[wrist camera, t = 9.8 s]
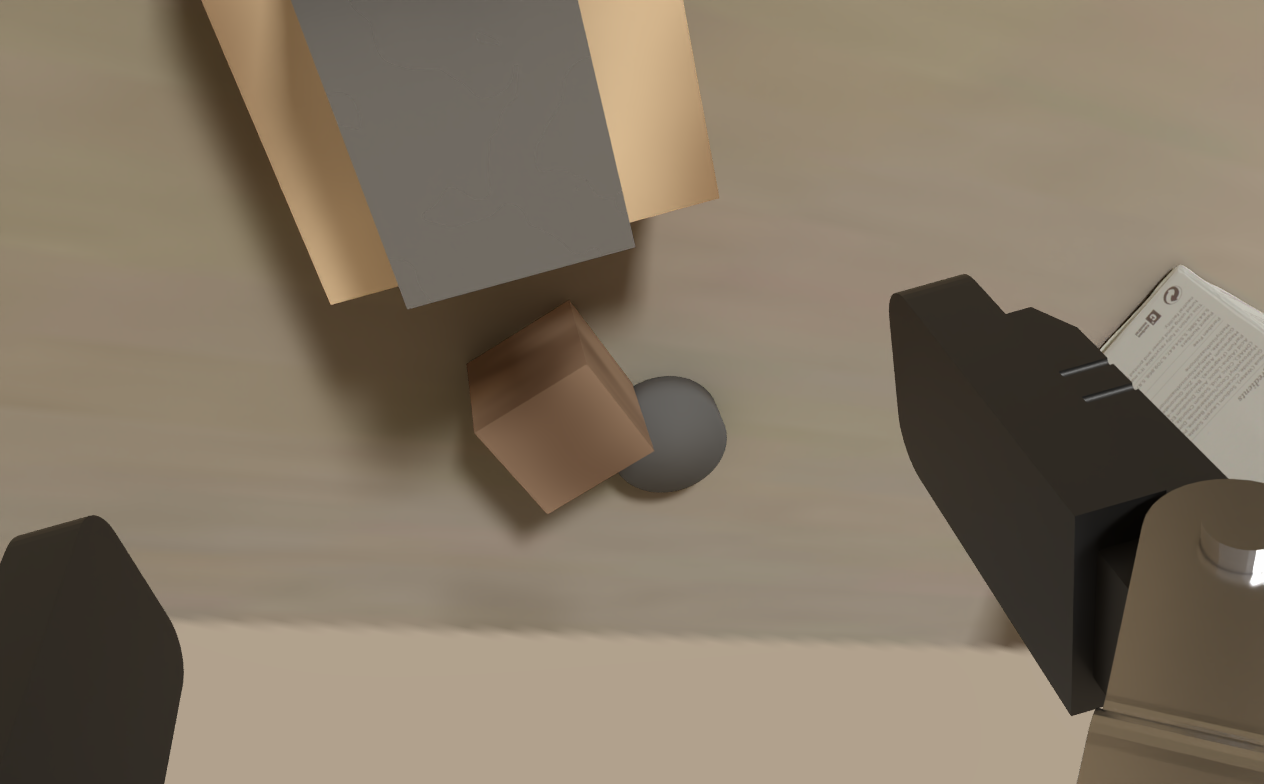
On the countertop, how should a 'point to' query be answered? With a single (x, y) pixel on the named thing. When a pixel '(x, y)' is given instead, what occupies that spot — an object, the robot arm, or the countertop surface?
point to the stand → (327, 182)
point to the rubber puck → (677, 435)
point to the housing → (471, 136)
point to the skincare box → (1200, 368)
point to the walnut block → (556, 408)
